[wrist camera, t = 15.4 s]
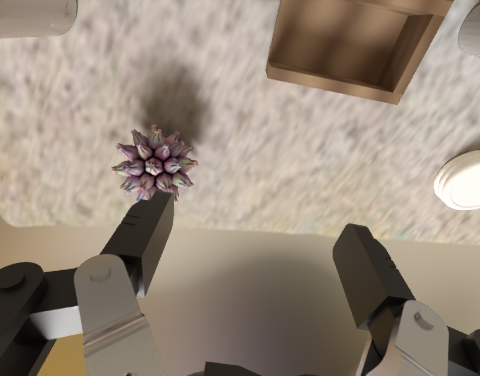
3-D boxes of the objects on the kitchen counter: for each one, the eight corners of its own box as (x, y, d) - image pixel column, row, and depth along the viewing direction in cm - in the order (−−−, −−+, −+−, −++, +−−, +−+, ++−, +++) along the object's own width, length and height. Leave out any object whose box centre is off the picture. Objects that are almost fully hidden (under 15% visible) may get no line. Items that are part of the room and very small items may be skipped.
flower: (146, 98, 36) (105, 126, 26) (216, 139, 39) (204, 178, 29) (123, 157, 42) (83, 198, 32) (186, 189, 45) (168, 235, 35)
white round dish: (437, 156, 39) (451, 166, 36) (508, 142, 37) (530, 152, 35) (427, 203, 45) (439, 216, 42) (490, 193, 43) (507, 205, 40)
